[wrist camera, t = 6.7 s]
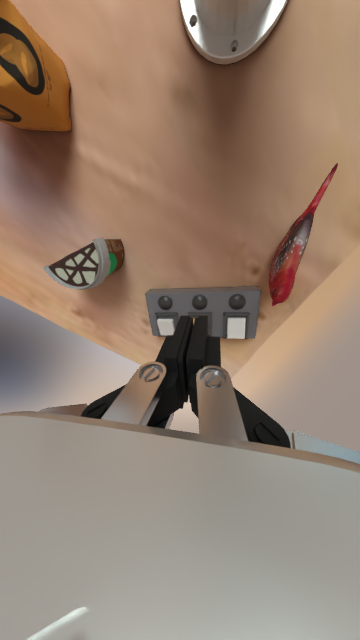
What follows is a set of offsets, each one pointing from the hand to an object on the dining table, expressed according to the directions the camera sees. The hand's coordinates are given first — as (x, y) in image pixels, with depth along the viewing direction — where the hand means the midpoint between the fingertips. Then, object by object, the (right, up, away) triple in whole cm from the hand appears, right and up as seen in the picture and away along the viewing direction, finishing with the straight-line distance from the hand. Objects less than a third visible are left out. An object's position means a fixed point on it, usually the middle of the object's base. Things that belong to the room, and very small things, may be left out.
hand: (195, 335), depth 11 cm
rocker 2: (+10, -1, +23) cm, 25 cm away
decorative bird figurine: (+17, +14, +19) cm, 29 cm away
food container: (-16, +13, +26) cm, 33 cm away
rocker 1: (-4, 0, +26) cm, 26 cm away
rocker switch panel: (+4, +3, +27) cm, 27 cm away
